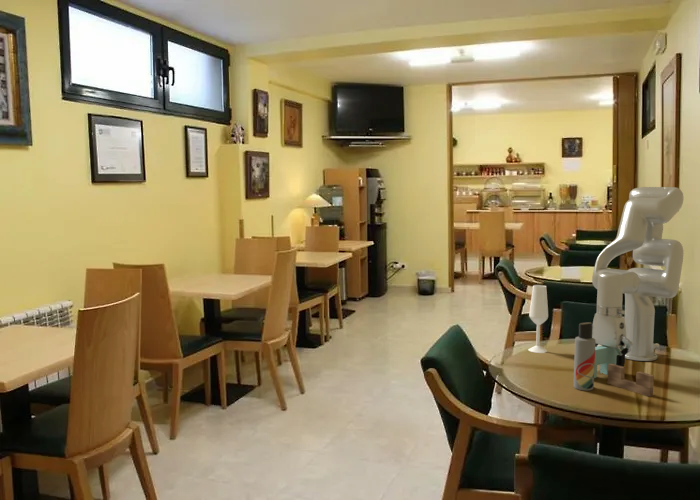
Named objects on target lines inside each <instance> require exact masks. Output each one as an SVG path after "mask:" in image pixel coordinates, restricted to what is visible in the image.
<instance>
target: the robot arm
mask: <svg viewBox="0 0 700 500" xmlns="http://www.w3.org/2000/svg"><path fill="white" fill-rule="evenodd" d="M628 195H629V196H628V200H627V201H626V202H625V204H624V206H623V210H622V213H621V217H620V221H619V225H618V229H617V234H616V237H615V239H614V240H613V241H611V242H610V243H608V244H607V245H606V246H605V247H604V248H603V249H602V251H600V253H599V254H598V256H597V258H596V260H595V263H594V268H593V272H592V279H591V280H592V281H591V282H592V286H593V287H594V288H595V289H596V290H597V294H596V296H597V297H596V313H594V315H593V316H594V317H593V321H592V325H593V330H592V338H594V339H595V347H597V346H602V345H603V346H607V347H611V348H615V349H616V351H617V353H618V355H617V358H616V365H618V366H622V367H625V364H626V359H627V360H631V361H638V362H651V361H653V362H654V361H655V360H657V359H658V354H657V353H656V352H654V350H658V349H660V344H659V343H654V335H655V334H654V331H655V330H654V329H655V315H656V314H655V313H656V310H655V305H654V302H652V300H651V298H650V297H654V298H661V299H662V298H663V299H672V298H674V297H676V296H677V294H678V291H679V287H680V282H681V281H680V280H681V276H682V269H683V261H684V248H683V247H684V246H683V244H682V243H681V242H680V241H679V240H676V239H671V238H670V239H669V238H663V233H664V224H667V223H668V222H670V221H671V220H672V219H673V218H674V217H675V215H676V214H677V213H678V212H679V211H680V209H681V208H682V206H683V203H684V193H683V190H681V189H680V188H679V187H675V186H664V187H663V186H643V187H642V186H641V187H640V186H639V187H635V188H633V189H632V190H630V192H629V194H628ZM628 252H632V259H633V262H634V263H636V264H640V265H645V266H653V267H664V269H656V268H646V267H632V268H629V269H616V268H608V266H609V264H610V263H611V261H612V260H614V259H615V258H616V257H618V256H621V255H623V254H625V253H628ZM623 294H624V295H623ZM623 296H624V309H623ZM623 315H624V316H623Z"/></svg>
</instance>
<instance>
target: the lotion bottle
mask: <svg viewBox="0 0 700 500" xmlns="http://www.w3.org/2000/svg"><path fill="white" fill-rule="evenodd" d="M592 330H593V322H591V321H589V322H587V321H585V322H580V323H578V336H575V340H574V359H573V360H574V361H573V362H574V363H573V388H574V389H577V390H579V391H588V392H589V391H593V390H594V387H595V386H594V385H595V378H594V368H595V339H594V338H592Z"/></svg>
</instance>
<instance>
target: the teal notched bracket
mask: <svg viewBox="0 0 700 500" xmlns="http://www.w3.org/2000/svg"><path fill="white" fill-rule="evenodd" d="M617 355H618V353H617V351H616V349H615V348H611V347H607V346H603V345H598V346H597V347H595V368H594V379H596V378H597V376H598V366H600V367H599V368H600V370H599V374H602V373H603V374H602V375H605V376H606V375H607V376H608V364H615V365H616V358H617Z"/></svg>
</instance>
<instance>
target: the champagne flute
mask: <svg viewBox="0 0 700 500" xmlns="http://www.w3.org/2000/svg"><path fill="white" fill-rule="evenodd" d="M547 293H548V292H547V285H543V284H534V285H532V291H531V297H530V306H529V314H528V317H529V319H530V320H531V321H532V322H533V323H534V324H535V325H536V333H535V334H536V338H535V339H536V341H535V343H536V344H535V345H534V346H532V347H530V348H528V350H527V351H529V352H531V353H535V354H536V353H537V354H544V353H547V352H548V350H547V349H546V348H544V347H542V346H541V345H540V344H541V343H540V339H541V338H540V337H541V336H540V335H541V325H542V324H544V323H545V322H546V321H547V320H548V318H549V307H548V304H549V303H548V294H547Z"/></svg>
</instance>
